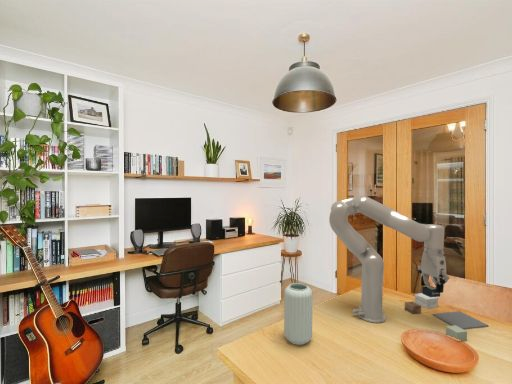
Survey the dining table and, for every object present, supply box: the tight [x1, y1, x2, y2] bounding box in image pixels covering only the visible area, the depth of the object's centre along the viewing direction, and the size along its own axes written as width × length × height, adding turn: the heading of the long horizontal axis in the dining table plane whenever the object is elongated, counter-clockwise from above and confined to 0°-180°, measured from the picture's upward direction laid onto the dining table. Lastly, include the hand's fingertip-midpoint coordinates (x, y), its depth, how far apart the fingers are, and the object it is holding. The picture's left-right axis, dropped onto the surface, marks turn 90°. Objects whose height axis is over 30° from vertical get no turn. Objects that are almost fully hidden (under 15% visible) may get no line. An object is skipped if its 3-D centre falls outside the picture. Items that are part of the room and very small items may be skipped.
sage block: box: [445, 325, 468, 342], centre depth 113 cm, size 5×5×4 cm
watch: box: [421, 273, 441, 298], centre depth 125 cm, size 6×8×11 cm
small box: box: [414, 292, 439, 310], centre depth 145 cm, size 8×8×5 cm
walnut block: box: [404, 301, 422, 315], centre depth 137 cm, size 5×5×4 cm
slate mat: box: [432, 310, 489, 330], centre depth 128 cm, size 16×14×1 cm
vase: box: [283, 282, 313, 346], centre depth 111 cm, size 12×12×22 cm
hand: (431, 288), depth 125 cm, fingers closed on watch, 8 cm apart
